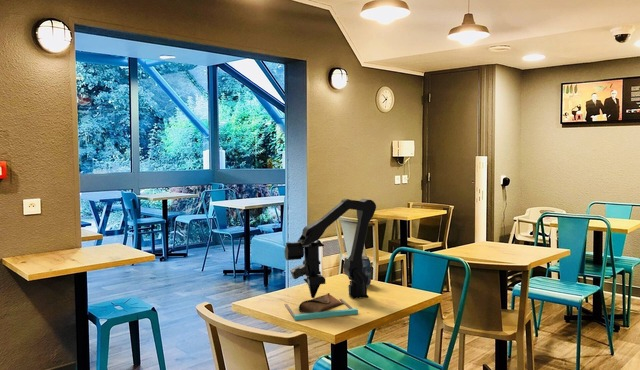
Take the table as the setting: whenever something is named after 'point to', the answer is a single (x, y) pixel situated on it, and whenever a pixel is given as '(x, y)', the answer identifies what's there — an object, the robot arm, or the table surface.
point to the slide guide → (324, 313)
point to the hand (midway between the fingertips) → (312, 297)
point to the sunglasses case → (319, 304)
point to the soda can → (367, 268)
